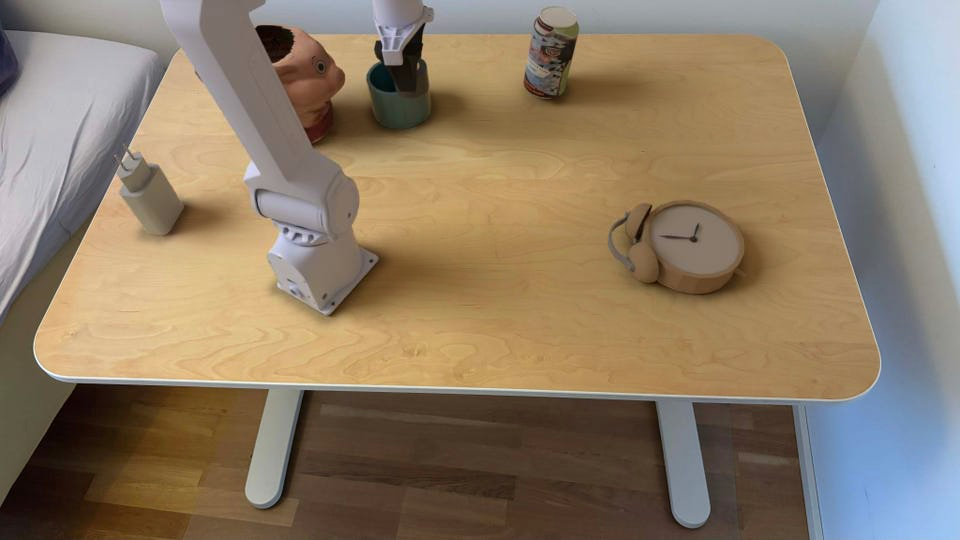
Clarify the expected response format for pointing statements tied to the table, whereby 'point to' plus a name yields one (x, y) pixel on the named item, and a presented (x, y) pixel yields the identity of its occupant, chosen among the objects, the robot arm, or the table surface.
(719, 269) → the alarm clock
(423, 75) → the tape roll
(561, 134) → the table surface
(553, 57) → the beverage can
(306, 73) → the decorative planter
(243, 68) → the robot arm
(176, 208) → the power adapter
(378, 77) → the cup
